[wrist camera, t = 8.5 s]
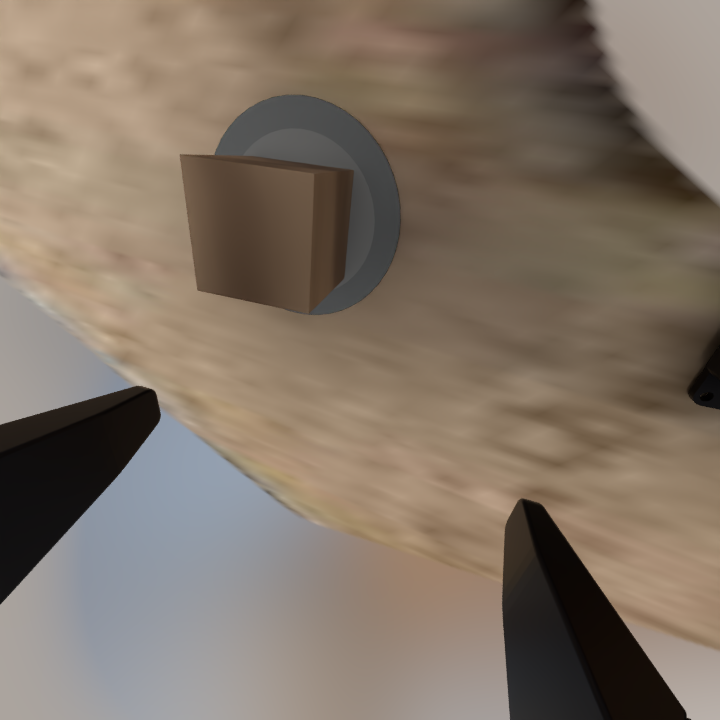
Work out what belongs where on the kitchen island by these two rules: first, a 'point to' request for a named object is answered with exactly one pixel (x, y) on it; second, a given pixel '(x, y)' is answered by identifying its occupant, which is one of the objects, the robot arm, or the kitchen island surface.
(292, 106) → the slate coaster
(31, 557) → the robot arm
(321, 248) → the walnut block
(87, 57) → the kitchen island surface
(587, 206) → the kitchen island surface
